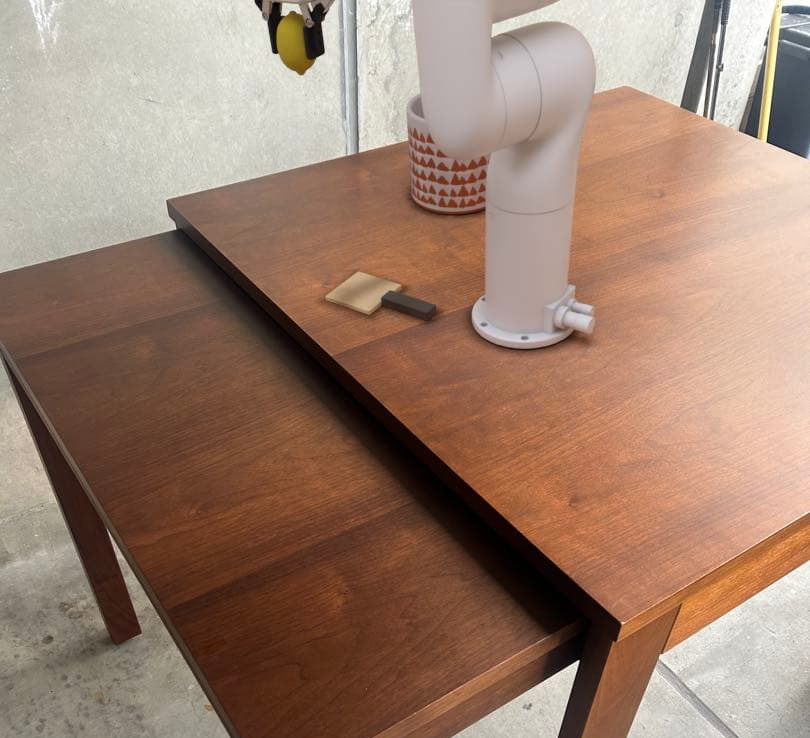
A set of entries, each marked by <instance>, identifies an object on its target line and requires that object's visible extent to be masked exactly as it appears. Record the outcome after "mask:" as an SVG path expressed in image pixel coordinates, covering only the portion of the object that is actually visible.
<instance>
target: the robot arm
mask: <svg viewBox="0 0 810 738" xmlns="http://www.w3.org/2000/svg"><path fill="white" fill-rule="evenodd" d="M253 1H254V3H255V6H256V7H257V9H258V10H259V11H260V12H261V18H262V20H263V21H264V22H266V25H267V31H268V36H269V37H268V38H269V43H270V48H271V53H272V54H273V55H279V53H278V49H277V28H278V25H279V23H280V21H281V20H282V19H283V18H284V17H285V16H286V15H284V14H283V4H291V5H298V7H299V10H300V13H301V15H303V18H304V21H305V23H306V25H307V26H305V27H303V35H304V42H305V49H306V56H307V58H308V60H313V59H315V58H316V59H317V58H319V57H321V56H323V55H325V53H326V48H325V40H324V31H323V23H324V22H325V20H326V16H327V15H328V13H329V11H330V8H331V7H332V6H333V5H334V3H335V1H336V0H253ZM559 1H561V0H411V9H412V18H413V29H414V39H415V49H416V51H415V52H416V59H417V70H418V82H419V92H420V93H421V100H422V107H423V113H424V117H425V122H426V125H427V128H428V131H429V134H430V136H431V138H432V140H433V142H434V143H435V145H436V146H437V148H438V149H439V150H440V151H441V152H442V153H443V154H444V155H446V156H447V157H449V158H452V159H454V160H461V161H464V160H472V159H476V158H479V157H482V156H485V155H488V154H491V156H490V160H489V164H488V168H487V175H486V209H485V232H484V233H485V237H484V238H485V239H484V241H485V243H484V245H485V248H484V249H485V250H484V251H485V253H484V259H485V260H484V294H483V295H481V296H480V297H479V299H477V300H476V301H475V303H474V305H473V306H472V310H471V323H472V326H473V328H474V330H475V332H477V334H478V335H480V336H481V337H482V338H484V339H485V340H487V341H489V342H490V343H493V344H495V345H498V346H500V347H501V346H502V347H505V348H512V349H517V350H518V349H521V350H523V349H524V350H529V349H539V348H544V347H548V346H551V345H554V344H557V343H559V342H561V341H563V340H565V339H567V338H568V337H569V336H571V334H572V333H573V332H574V331H578V332H580V333H584V334H587V335H590V334H592V333H593V331H594V329H595V326H596V318H595V317H594V314H595V311H596V307H595V306H594V305H591V304H587V303H582V302H578V299H577V298H576V287H577V286H576V285H573V284H570V283H569V273H570V272H569V271H570V262H571V261H570V260H571V249H572V247H571V246H572V237H573V236H572V234H573V223H574V212H575V199H576V193H577V192H576V191H577V180H578V170H579V161H580V154H581V147H582V142H583V137H584V133H585V129H586V126H587V122H588V118H589V114H590V111H591V108H592V103H593V101H594V100H593V99H594V97H595V89H596V82H597V81H596V80H597V77H596V76H597V68H596V67H597V66H596V60H595V59H596V58H595V55H594V52H593V49H592V47H591V44H590V43H589V41H588V39H587V37H586V36H585V35H584V34H583V33H582V31H580V30H579V29H578V28H576V27H574V26H573V25H571V24H569V23H566V22H563V21H555V20H553V21H552V20H551V21H539V22H535V23H531V24H527V25H524V26H520V27H518V28H514V29H511V30H508V31H505V32H501V33H499V34H496V35H494V36H492V34H493V25H494V24H498V23H502V22H504V21H508V20H510V19H513V18H517V17H520V16H524V15H527V14H529V13H532V12H533V13H534V12H535V11H538V10H540V9H543V8H546V7H548V6H551V5H554V4H555V3H558V2H559ZM309 3H310V4H309ZM310 5H311V8H312V9H311V8H310ZM282 14H283V15H282Z"/></svg>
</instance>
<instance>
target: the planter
mask: <svg viewBox="0 0 810 738" xmlns="http://www.w3.org/2000/svg"><path fill="white" fill-rule="evenodd" d="M406 124H407V125H406V126H407V141H408V142H407V143H408V159H409V160H408V162H409V176H410V177H409V178H410V191H411V192H410V193H411V197H412V200H413V201H414V202H415V204H417V206H419V207H421V208H423V209H425V210H427V211H428V212H429V211H430V212H432V213H437V214H443V215H465V214H472V213H477V212H480V211H483V210H486V175H487V168H488V164H489V160H490V156H491V154H488V155H485V156H482V157H479V158H476V159H472V160H464V161H461V160H454V159H452V158H449V157H447V156H446V155H444V154H443V153H442V152H441V151H440V150H439V149H438V148H437V146H436V145H435V143H434V142H433V140H432V138H431V136H430V134H429V131H428V128H427V125H426V122H425V117H424V113H423V107H422V100H421V92H420V93H418V94H416V95H415V96H414V97H412V98H411V99H410V100H409V101H408V102H407V105H406Z"/></svg>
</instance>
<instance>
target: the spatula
mask: <svg viewBox="0 0 810 738" xmlns="http://www.w3.org/2000/svg"><path fill="white" fill-rule="evenodd" d="M402 290H403V285H402V284H400V283H396V282H394V281H390V280H388V279H386V278H385V279H384V278H381V277H378V276H376V275H372V274H369V273H366V272H363V271H359V270H358V271H356V272H355V273H353V275H351V276H350V277H348V278H347V279H346V280H345V281H343V282H342V283H340V284H339V285H337V287H335V288H334V289H333V290H331V291H329V293H327V294H326V295H325V296H324V298H325V301H327V302H330V303H333V304H336V305H338V306H341V307H345V308H347V309H351V310H353V311H356V312H360V313H361V314H365V315H368V316H370V315H372V314H373V313H374V312H376V310H378V309H379V308H380V307H384V308H388V309H390V310H393V311H396V312H399V313H402V314H405V315H407V316H411V317H414V318H417V319H420V320H424V321H426V322H428V321H430V319H432V318H434V316H435V315H436V314H437V305H436V304H435V303H431V302H428V301H425V300H422V299H419V298H416V297H413V296H409V295H407V294H403V293H400V292H401V291H402Z"/></svg>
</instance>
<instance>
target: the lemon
mask: <svg viewBox="0 0 810 738" xmlns="http://www.w3.org/2000/svg"><path fill="white" fill-rule="evenodd" d="M284 16H285V17H284V18H283V19H282V20H281V21H280V23H279V25H278V28H277V49H278V53H279V54H278V56H279V58H280V61H281V62H282V64H283V65H284V66H285V67H286V68H287V69H288V70H290V71H293V72H295V73H296V74H297V75H298V76H304V75H305V74H306V72H307V71H308V70H310V69H311V68H312V67H313V65H314V64H316V63H315V62H316V61H317V58H315V59H313V60H308V58H307V56H306V49H305V42H304V35H303V27H305V26H307V25H306V23H305V21H304V18H303V15H302V13H298V12H296V11H295V10H290V11H289V12H288V14H286V15H284Z"/></svg>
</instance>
